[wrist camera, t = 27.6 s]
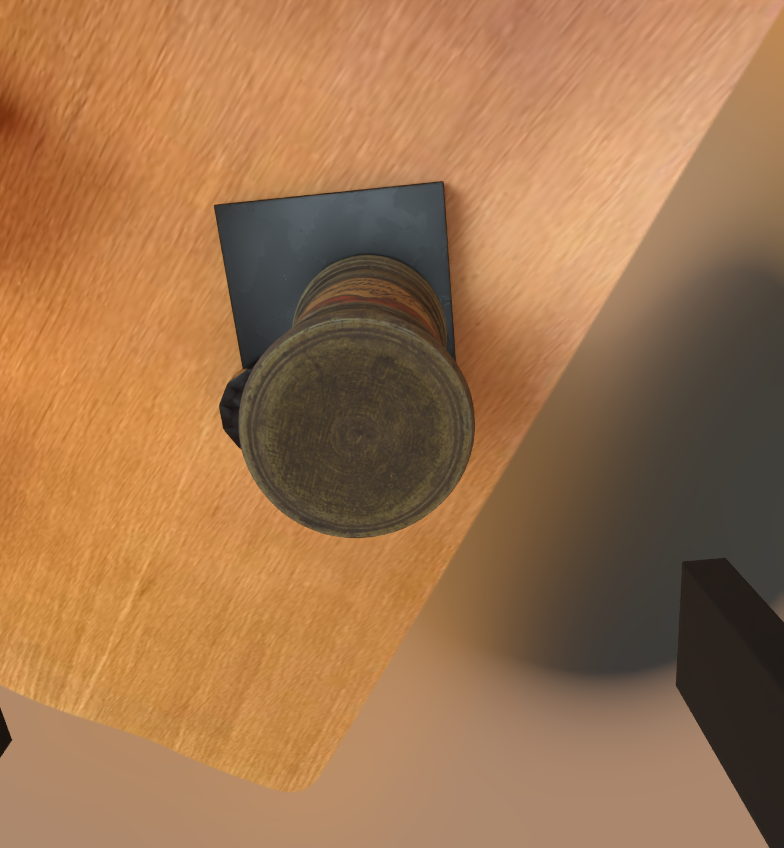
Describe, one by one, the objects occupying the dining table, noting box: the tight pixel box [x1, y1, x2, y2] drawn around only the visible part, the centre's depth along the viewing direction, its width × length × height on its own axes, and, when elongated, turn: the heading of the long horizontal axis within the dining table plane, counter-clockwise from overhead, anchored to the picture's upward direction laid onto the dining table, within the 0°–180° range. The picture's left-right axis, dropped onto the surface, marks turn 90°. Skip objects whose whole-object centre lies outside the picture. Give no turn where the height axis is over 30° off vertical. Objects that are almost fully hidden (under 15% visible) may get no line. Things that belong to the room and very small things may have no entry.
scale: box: [214, 181, 456, 449], centre depth 40 cm, size 15×14×3 cm
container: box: [239, 255, 475, 538], centre depth 32 cm, size 9×9×18 cm
